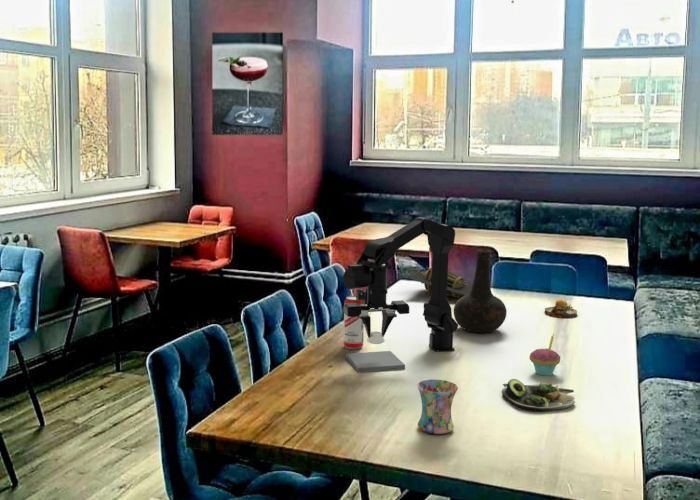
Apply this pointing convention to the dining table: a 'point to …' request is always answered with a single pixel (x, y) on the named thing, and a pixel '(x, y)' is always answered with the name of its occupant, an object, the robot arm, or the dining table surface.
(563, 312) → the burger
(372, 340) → the white jar
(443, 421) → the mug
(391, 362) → the coaster
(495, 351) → the dining table surface
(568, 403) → the salad plate
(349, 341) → the beer can
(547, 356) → the cupcake
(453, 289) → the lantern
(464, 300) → the dark brown vase
